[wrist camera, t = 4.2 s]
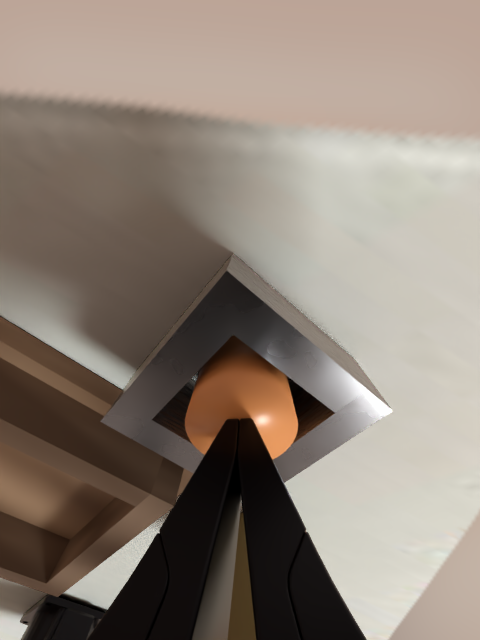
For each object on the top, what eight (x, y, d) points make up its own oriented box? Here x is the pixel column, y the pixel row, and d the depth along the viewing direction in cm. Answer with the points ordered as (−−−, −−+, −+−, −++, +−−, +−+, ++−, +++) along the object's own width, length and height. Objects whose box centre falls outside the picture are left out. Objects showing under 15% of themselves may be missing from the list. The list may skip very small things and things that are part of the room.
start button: (246, 415, 11) (246, 479, 9) (185, 374, 11) (163, 430, 8) (302, 368, 10) (322, 424, 8) (237, 317, 9) (234, 360, 7)
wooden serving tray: (99, 546, 18) (72, 608, 15) (-133, 449, 14) (-226, 507, 11) (217, 448, 13) (209, 510, 10) (-81, 267, 9) (-216, 289, 7)
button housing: (249, 442, 13) (250, 505, 10) (136, 370, 11) (100, 421, 8) (355, 359, 11) (392, 410, 8) (232, 253, 9) (226, 270, 6)
